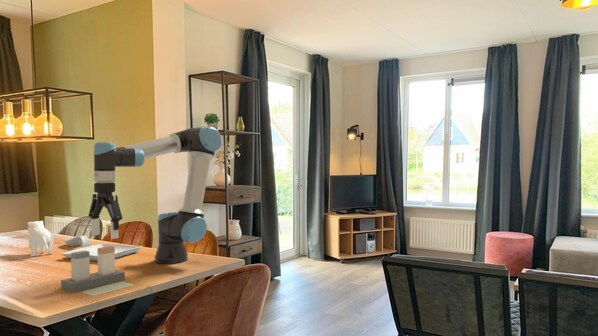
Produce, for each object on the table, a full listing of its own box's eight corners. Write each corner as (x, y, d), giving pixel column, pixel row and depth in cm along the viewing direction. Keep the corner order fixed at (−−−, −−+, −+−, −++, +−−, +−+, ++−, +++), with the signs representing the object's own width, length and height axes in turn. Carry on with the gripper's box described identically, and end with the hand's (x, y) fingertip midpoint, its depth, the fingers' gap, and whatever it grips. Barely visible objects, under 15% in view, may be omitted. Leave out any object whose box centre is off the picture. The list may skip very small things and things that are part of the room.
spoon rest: (61, 245, 245) (61, 233, 245) (83, 242, 253) (83, 230, 253) (75, 251, 228) (75, 238, 228) (98, 248, 237) (98, 235, 236)
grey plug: (85, 284, 161) (84, 250, 161) (89, 286, 159) (89, 251, 159) (71, 287, 157) (71, 252, 157) (76, 289, 155) (75, 253, 155)
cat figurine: (60, 256, 216) (59, 223, 216) (36, 259, 208) (35, 225, 208) (44, 249, 233) (43, 219, 233) (22, 252, 226) (21, 221, 225)
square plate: (104, 264, 200) (104, 256, 200) (59, 260, 208) (59, 252, 208) (143, 252, 225) (143, 245, 225) (101, 249, 234) (101, 242, 234)
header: (112, 278, 173) (112, 268, 173) (125, 282, 168) (124, 272, 168) (61, 291, 157) (60, 280, 157) (73, 295, 152) (72, 284, 152)
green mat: (122, 284, 165) (122, 281, 165) (134, 287, 161) (134, 284, 161) (80, 294, 152) (80, 291, 152) (92, 298, 148) (92, 295, 148)
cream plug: (110, 278, 170) (109, 246, 169) (115, 280, 167) (114, 247, 167) (98, 281, 165) (97, 248, 165) (102, 283, 163) (102, 249, 163)
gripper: (79, 181, 170) (79, 235, 170) (113, 183, 155) (113, 241, 156) (97, 181, 176) (97, 232, 176) (131, 182, 161) (132, 238, 162)
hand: (105, 236), depth 166 cm, fingers open, 13 cm apart
